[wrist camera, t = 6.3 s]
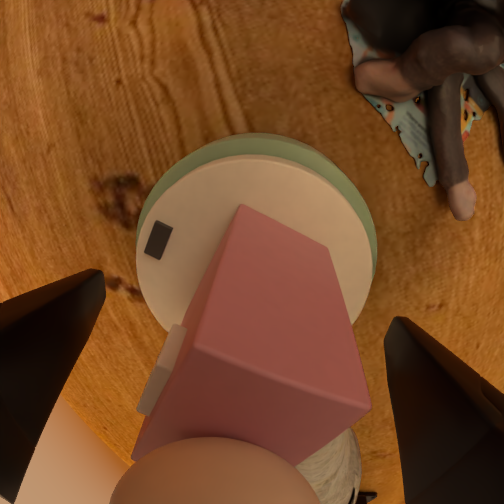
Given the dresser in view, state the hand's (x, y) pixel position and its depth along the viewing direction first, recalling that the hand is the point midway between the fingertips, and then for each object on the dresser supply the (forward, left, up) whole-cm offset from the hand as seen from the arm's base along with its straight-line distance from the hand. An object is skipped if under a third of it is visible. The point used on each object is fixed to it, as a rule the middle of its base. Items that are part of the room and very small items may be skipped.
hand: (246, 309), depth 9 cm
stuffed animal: (+12, -6, -5) cm, 14 cm away
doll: (0, 0, -2) cm, 2 cm away
